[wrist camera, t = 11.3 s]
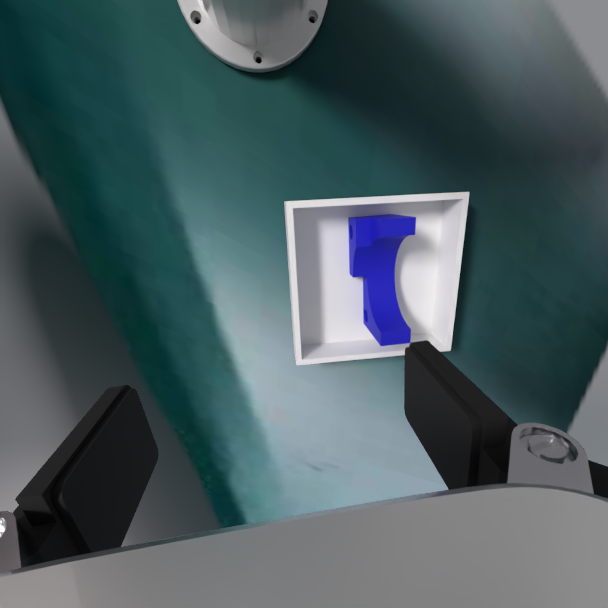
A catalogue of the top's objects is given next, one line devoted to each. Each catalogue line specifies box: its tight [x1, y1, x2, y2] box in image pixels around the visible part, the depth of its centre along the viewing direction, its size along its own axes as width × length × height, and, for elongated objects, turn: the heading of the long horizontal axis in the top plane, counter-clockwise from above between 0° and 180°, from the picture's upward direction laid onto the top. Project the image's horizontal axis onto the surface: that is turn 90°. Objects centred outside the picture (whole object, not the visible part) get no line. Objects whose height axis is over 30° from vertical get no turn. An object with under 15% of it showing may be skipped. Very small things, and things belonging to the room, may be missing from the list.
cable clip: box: [348, 214, 416, 346], centre depth 31 cm, size 12×4×6 cm, turn 4°
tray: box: [284, 192, 469, 365], centre depth 33 cm, size 17×17×4 cm
